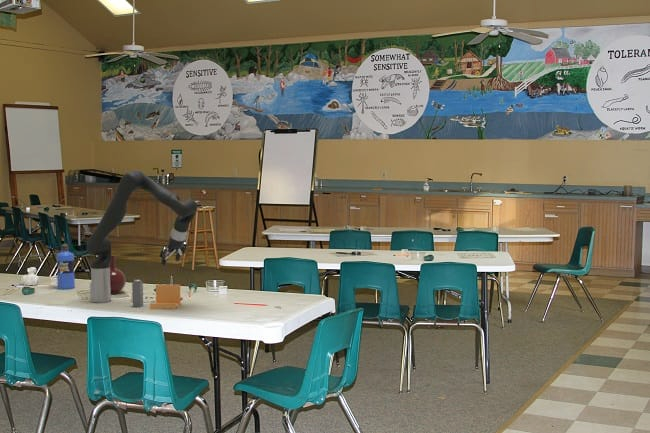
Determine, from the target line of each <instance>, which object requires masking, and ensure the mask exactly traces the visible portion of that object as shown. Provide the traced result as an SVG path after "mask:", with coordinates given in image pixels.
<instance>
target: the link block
mask: <svg viewBox="0 0 650 433" xmlns="http://www.w3.org/2000/svg"><path fill="white" fill-rule="evenodd" d="M143 282H144V281H142V280H141V279H134V281H133V282H132V283H131V284H132V285H131V286H132V287H131V289H132V290H131V291H132V292H131V294H132V308H142V307H143V306H144V285H143V284H144V283H143Z"/></svg>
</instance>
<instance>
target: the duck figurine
mask: <svg viewBox="0 0 650 433" xmlns="http://www.w3.org/2000/svg"><path fill="white" fill-rule="evenodd" d="M26 271H27V272H28V273H27V274H24V275H22V276H21V279H20V280H21V281H20V283H21V284H22V285H23V284H25V285H26V286H29V285H33V286H36V285H37V284H38V283H39V280H40V278H39V276H38V275H36V274H35V273H37V268H36V267H35V266H33V267H32V266H30V267H29V268H28V267H27V270H26ZM25 285H24V286H25Z"/></svg>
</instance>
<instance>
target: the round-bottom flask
mask: <svg viewBox="0 0 650 433" xmlns="http://www.w3.org/2000/svg"><path fill="white" fill-rule="evenodd" d="M126 282H127V281H126V276H125V274H124V272H123V271H121V270H120V269H118V268H116V255H111V262H110V289H111V294H117V293H120V292H121V291H122V290H123V289H124V288H125V286H126Z"/></svg>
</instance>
